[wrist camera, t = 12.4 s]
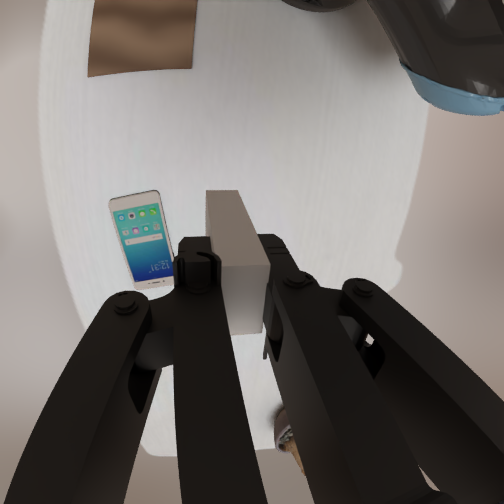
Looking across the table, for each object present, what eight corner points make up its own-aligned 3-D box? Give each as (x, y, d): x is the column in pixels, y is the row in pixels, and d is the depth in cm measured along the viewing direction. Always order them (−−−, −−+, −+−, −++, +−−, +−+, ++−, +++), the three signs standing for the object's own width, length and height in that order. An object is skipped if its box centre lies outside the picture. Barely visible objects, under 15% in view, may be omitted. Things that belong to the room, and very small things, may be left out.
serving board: (101, -29, 20) (100, -31, 19) (202, -39, 22) (202, -40, 22) (89, 77, 28) (87, 77, 27) (191, 68, 30) (191, 68, 30)
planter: (279, 430, 78) (295, 486, 61) (246, 416, 69) (261, 483, 53) (321, 408, 75) (344, 466, 58) (294, 391, 67) (318, 461, 50)
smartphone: (159, 189, 37) (180, 283, 45) (159, 188, 38) (180, 280, 45) (106, 201, 36) (135, 291, 44) (108, 198, 37) (135, 287, 44)
